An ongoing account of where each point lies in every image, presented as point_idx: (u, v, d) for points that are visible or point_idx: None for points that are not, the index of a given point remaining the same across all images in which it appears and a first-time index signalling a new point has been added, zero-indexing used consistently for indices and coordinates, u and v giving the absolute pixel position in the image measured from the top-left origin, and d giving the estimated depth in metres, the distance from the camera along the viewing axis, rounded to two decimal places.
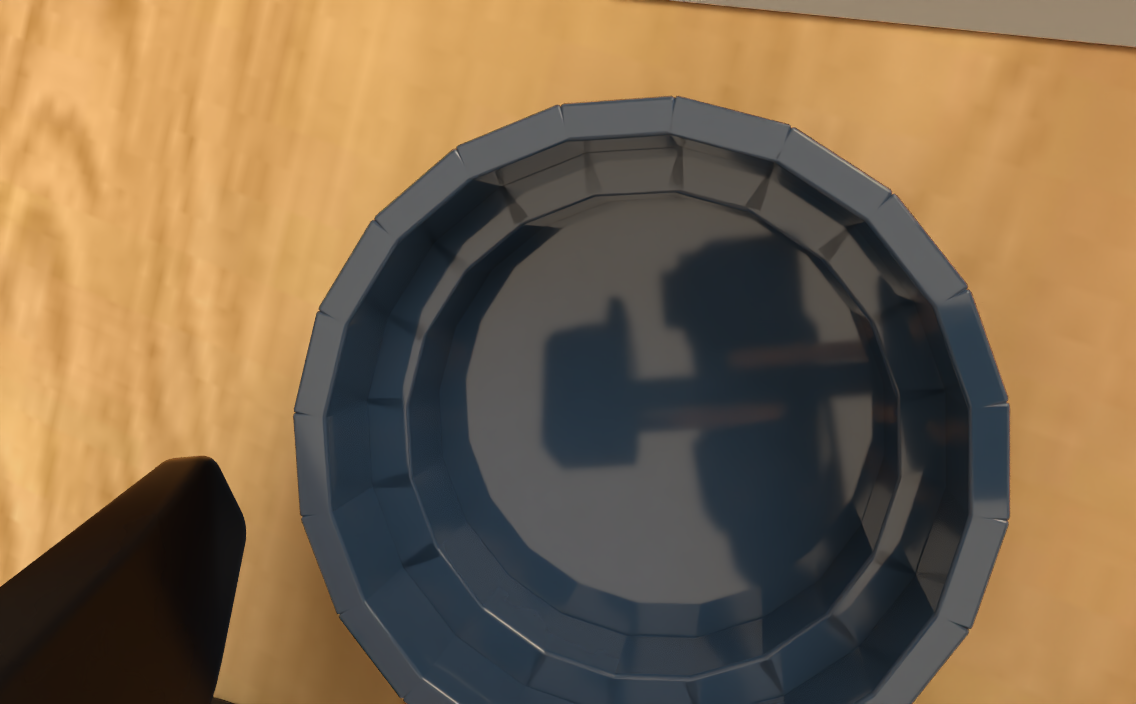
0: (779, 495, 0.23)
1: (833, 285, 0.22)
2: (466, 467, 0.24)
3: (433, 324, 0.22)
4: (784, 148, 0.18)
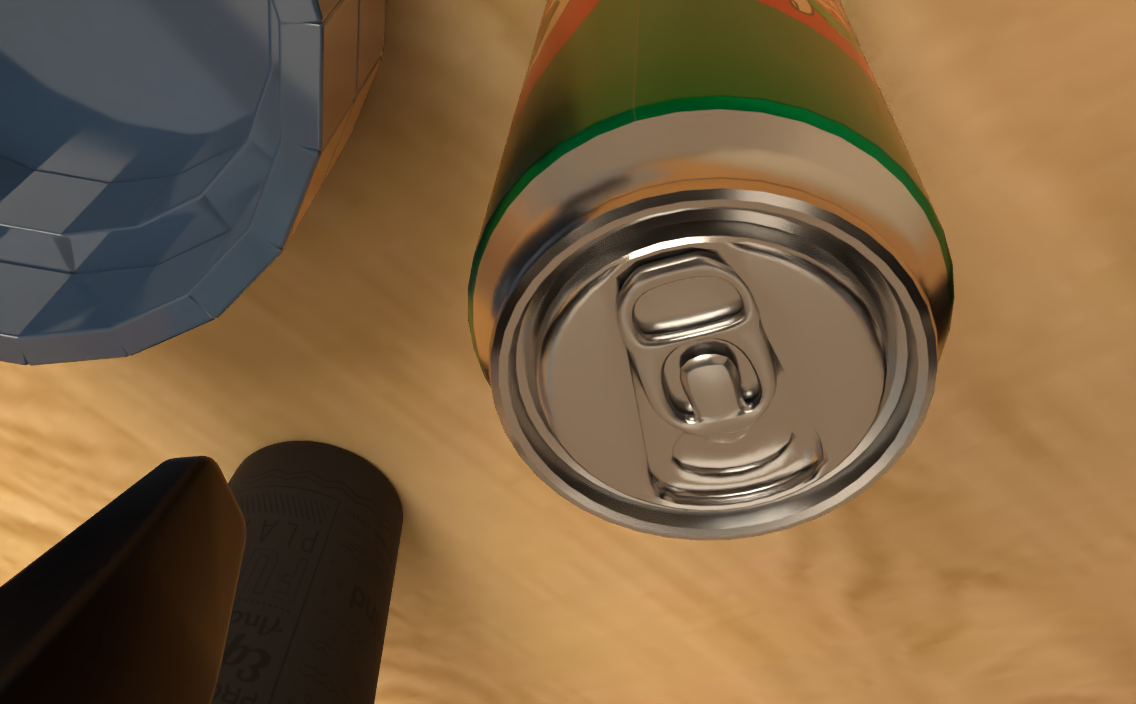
0: None
1: None
2: (51, 154, 0.22)
3: None
4: None
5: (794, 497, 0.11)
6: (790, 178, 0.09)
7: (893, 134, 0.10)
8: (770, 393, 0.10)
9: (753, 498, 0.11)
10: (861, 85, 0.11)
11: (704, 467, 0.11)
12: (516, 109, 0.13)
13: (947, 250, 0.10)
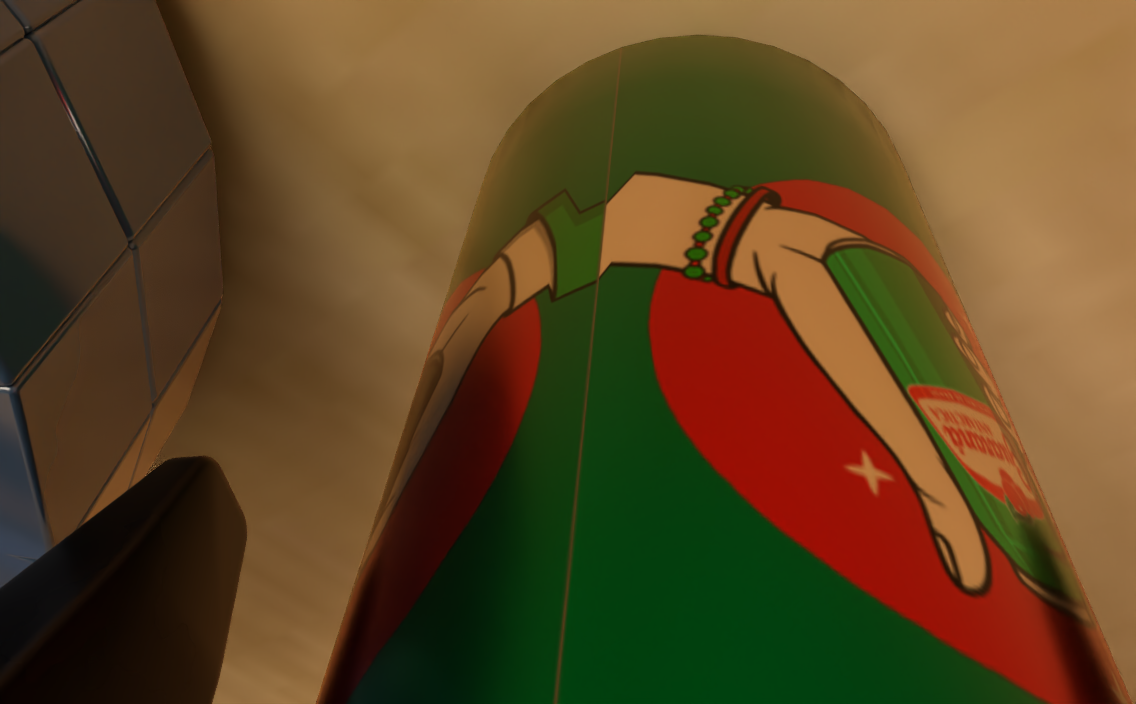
0: None
1: None
2: None
3: None
4: None
5: None
6: None
7: None
8: None
9: None
10: None
11: None
12: (325, 677, 0.06)
13: None
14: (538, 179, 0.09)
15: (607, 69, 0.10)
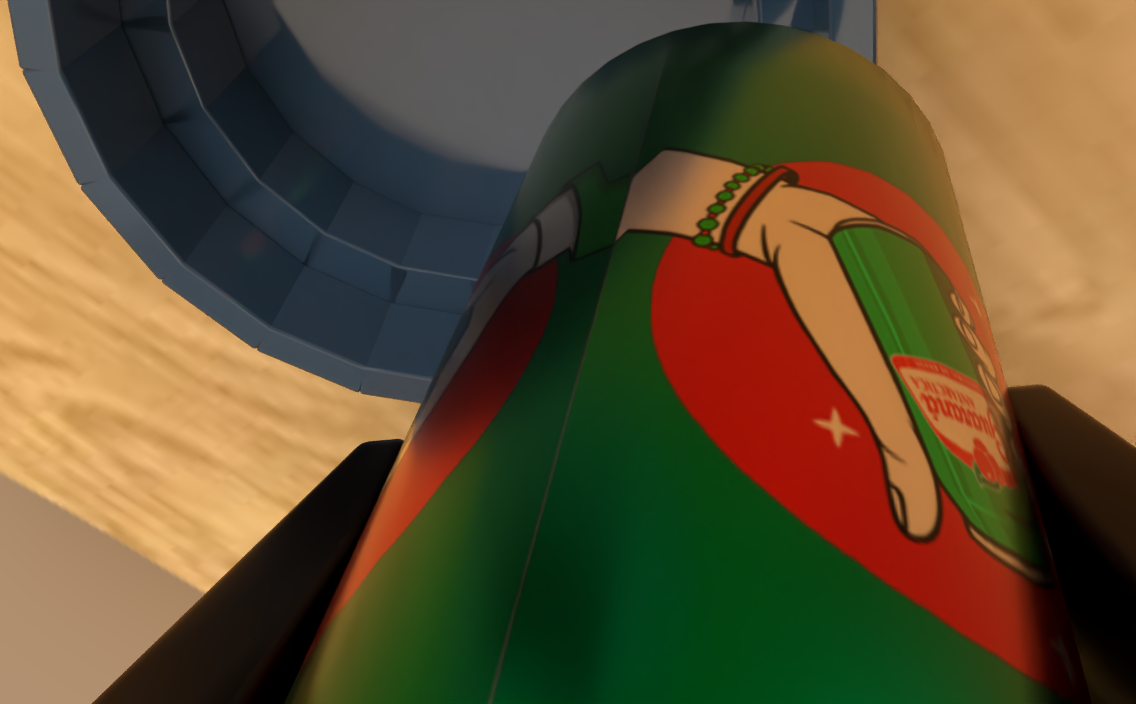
0: None
1: None
2: (441, 197, 0.22)
3: (251, 167, 0.20)
4: None
5: None
6: None
7: None
8: None
9: None
10: None
11: None
12: None
13: None
14: (576, 152, 0.09)
15: (655, 51, 0.11)
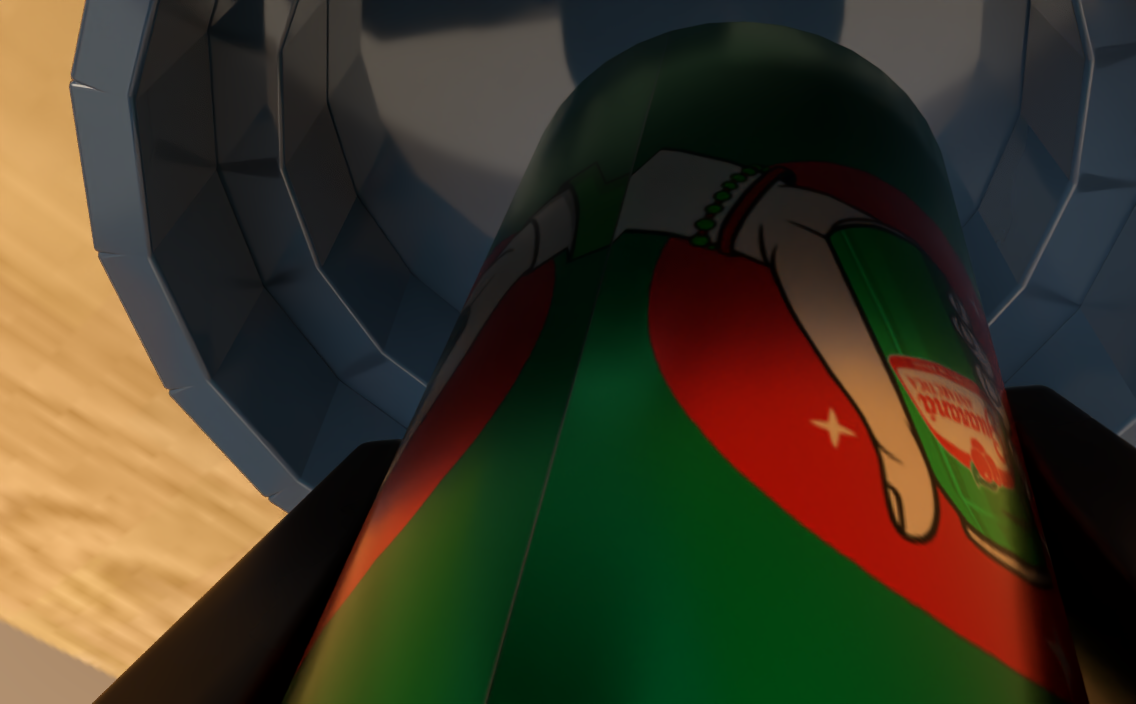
0: None
1: None
2: None
3: (374, 335, 0.15)
4: None
5: None
6: None
7: None
8: None
9: None
10: None
11: None
12: None
13: None
14: (574, 153, 0.09)
15: (653, 51, 0.11)
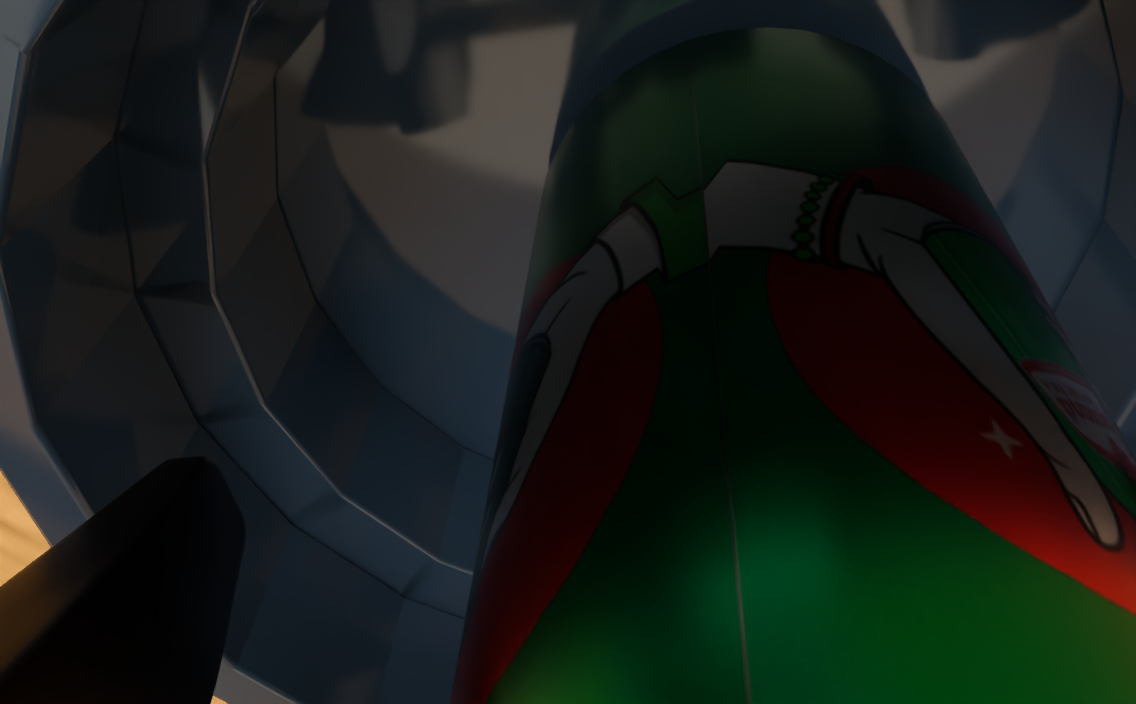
0: (935, 77, 0.12)
1: None
2: None
3: (331, 476, 0.13)
4: None
5: None
6: None
7: None
8: None
9: None
10: None
11: None
12: (466, 641, 0.06)
13: None
14: (624, 168, 0.09)
15: (678, 61, 0.11)
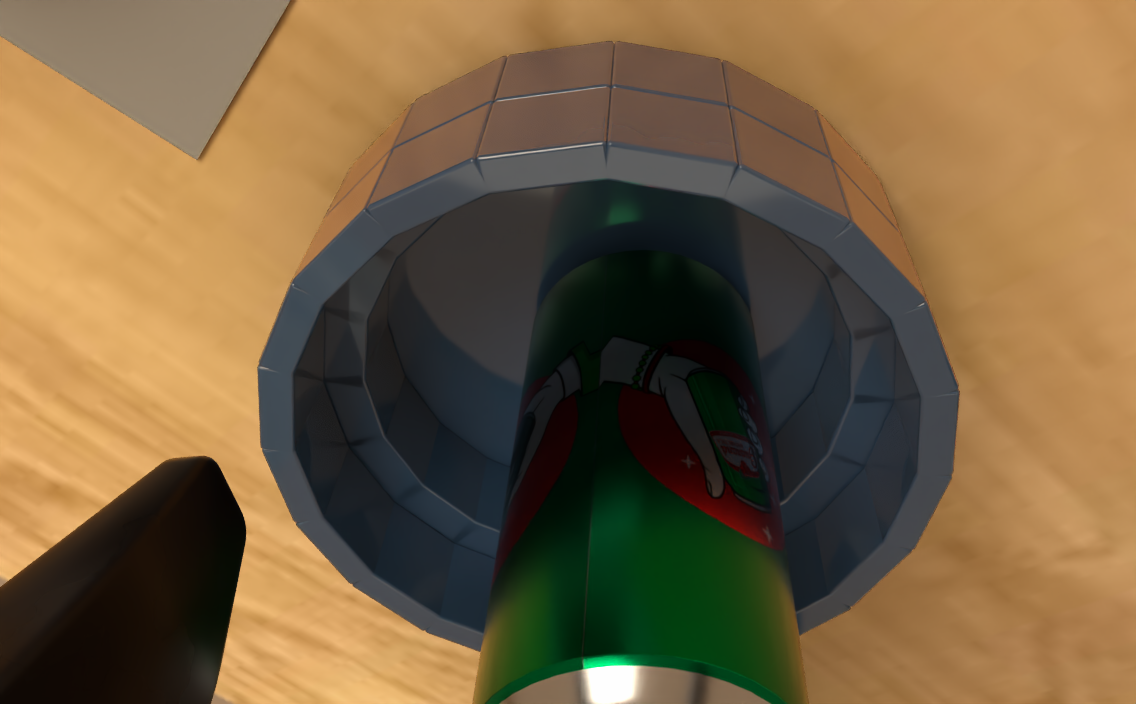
0: (737, 268, 0.22)
1: None
2: None
3: (417, 475, 0.24)
4: (383, 225, 0.17)
5: None
6: None
7: (773, 632, 0.15)
8: None
9: None
10: (752, 583, 0.15)
11: None
12: (502, 536, 0.17)
13: None
14: (570, 332, 0.20)
15: (600, 268, 0.21)
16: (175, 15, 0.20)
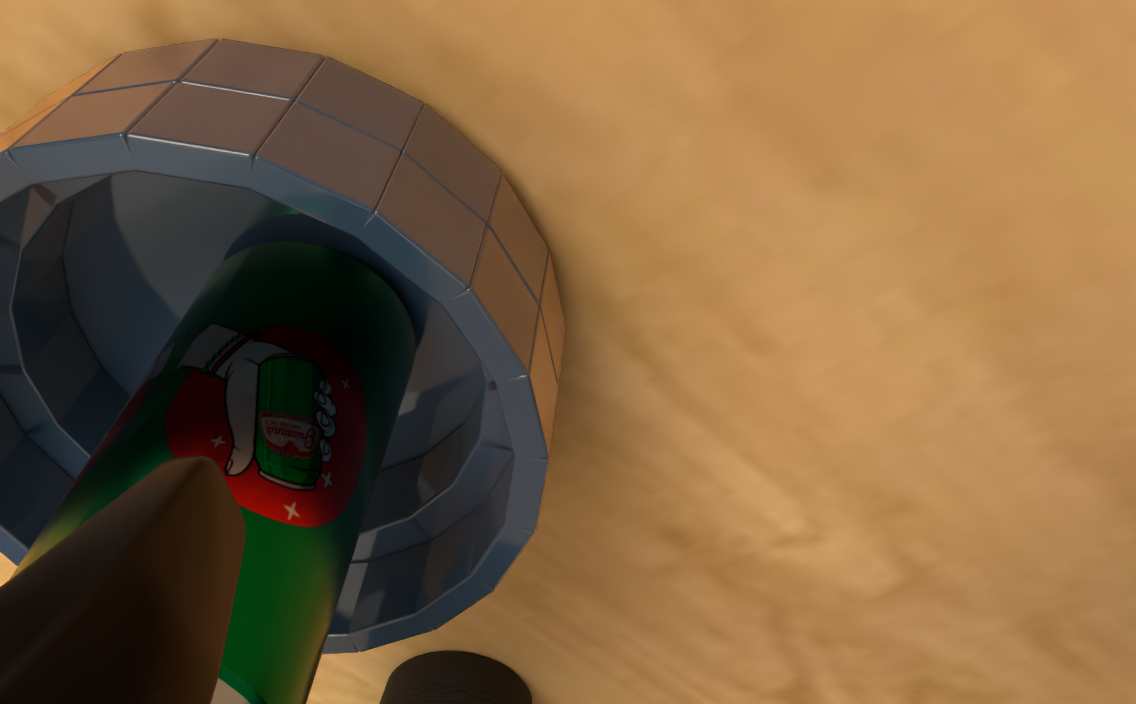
0: None
1: None
2: None
3: None
4: None
5: None
6: None
7: (241, 601, 0.15)
8: None
9: None
10: None
11: None
12: None
13: (257, 696, 0.15)
14: (187, 319, 0.21)
15: (240, 259, 0.22)
16: None
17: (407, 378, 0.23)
